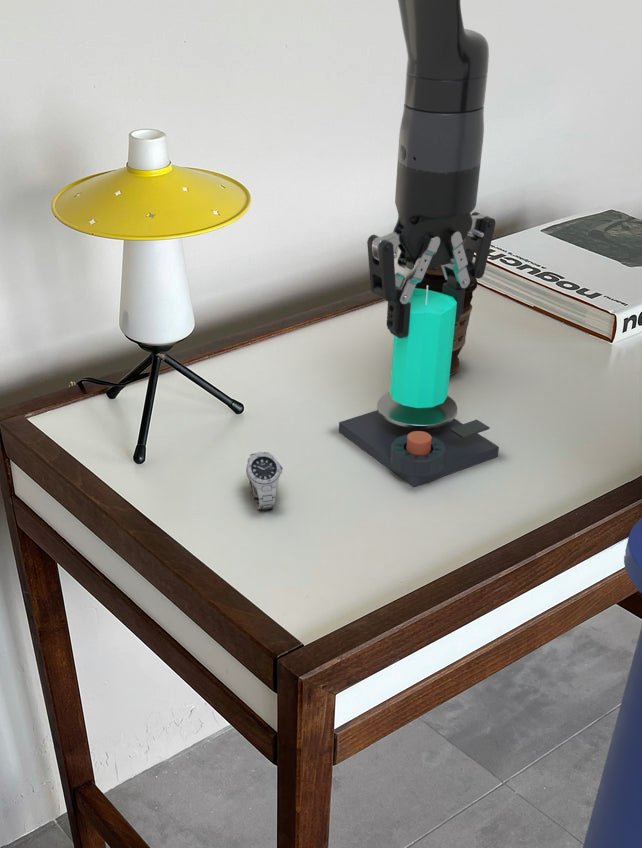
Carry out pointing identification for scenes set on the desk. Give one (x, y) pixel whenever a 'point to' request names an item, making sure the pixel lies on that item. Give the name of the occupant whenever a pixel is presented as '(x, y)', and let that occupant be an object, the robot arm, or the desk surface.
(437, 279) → the coffee cup
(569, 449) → the desk surface
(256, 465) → the wristwatch
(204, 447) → the desk surface
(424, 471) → the scale
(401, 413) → the scale pan
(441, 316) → the candle
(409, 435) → the tare button
